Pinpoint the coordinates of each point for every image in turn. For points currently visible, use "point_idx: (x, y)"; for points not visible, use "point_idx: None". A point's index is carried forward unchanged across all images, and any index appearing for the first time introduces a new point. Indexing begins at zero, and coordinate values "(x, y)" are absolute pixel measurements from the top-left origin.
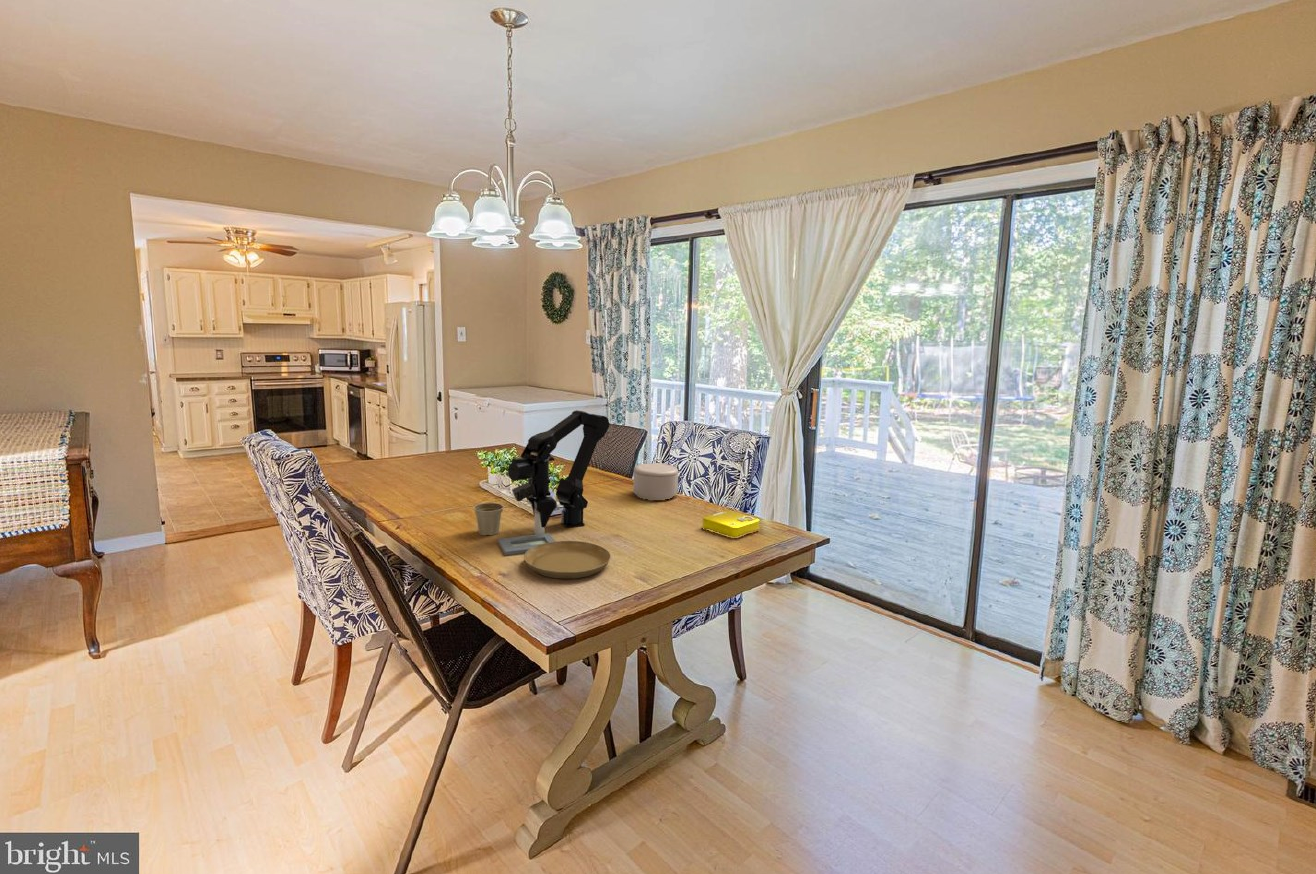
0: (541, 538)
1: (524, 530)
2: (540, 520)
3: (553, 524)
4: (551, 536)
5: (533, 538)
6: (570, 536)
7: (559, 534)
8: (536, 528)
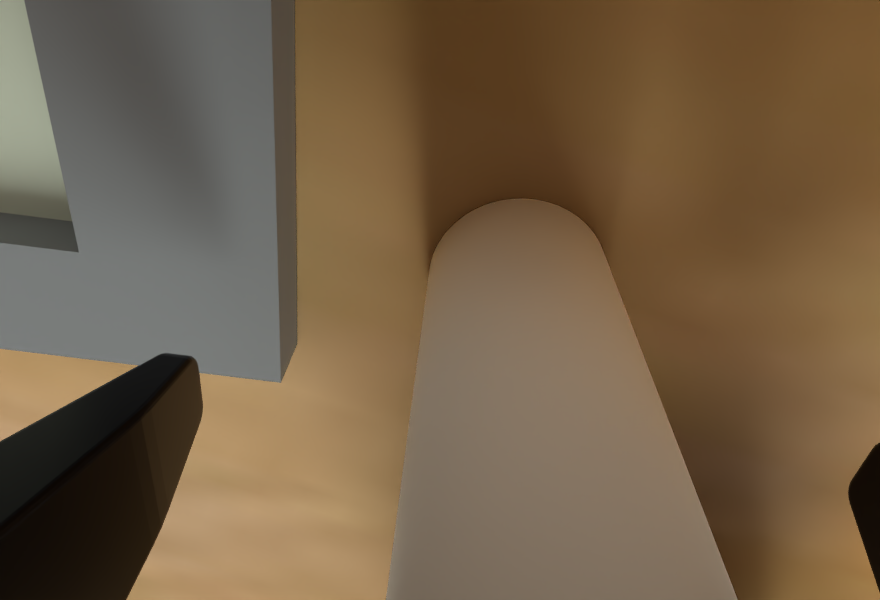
0: (79, 188)
1: (871, 99)
2: (49, 461)
3: (785, 558)
4: (94, 359)
5: (30, 17)
6: (230, 544)
7: (352, 483)
8: (473, 273)
